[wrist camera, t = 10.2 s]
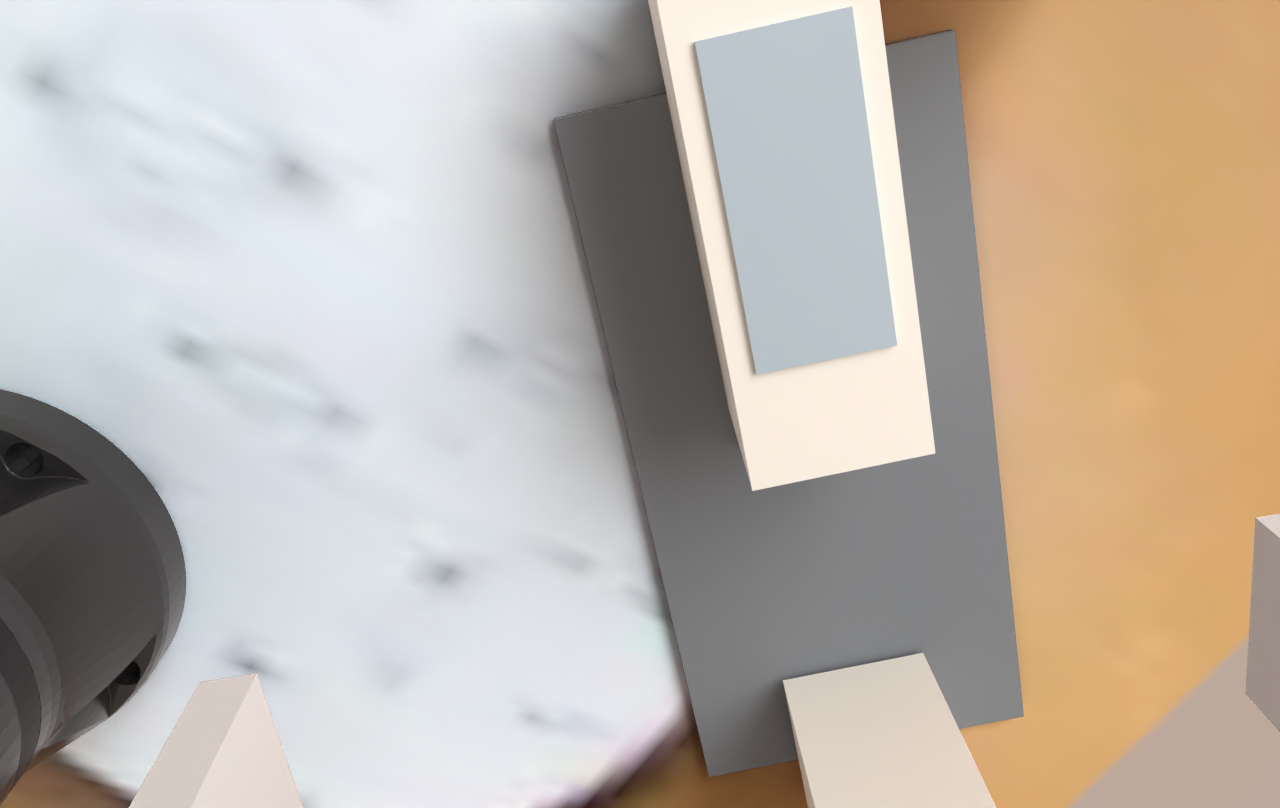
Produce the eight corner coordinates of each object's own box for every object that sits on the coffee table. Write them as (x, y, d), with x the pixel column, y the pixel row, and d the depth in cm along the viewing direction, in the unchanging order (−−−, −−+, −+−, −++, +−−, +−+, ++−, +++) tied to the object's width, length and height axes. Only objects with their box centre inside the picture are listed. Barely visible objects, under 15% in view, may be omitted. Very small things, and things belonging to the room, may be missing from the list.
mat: (708, 767, 49) (709, 777, 48) (554, 118, 38) (553, 120, 38) (1018, 707, 48) (1023, 716, 48) (949, 29, 38) (955, 30, 37)
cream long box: (735, 442, 42) (760, 530, 36) (642, -28, 36) (651, -28, 29) (887, 410, 42) (941, 493, 35) (821, -69, 36) (871, -79, 29)
